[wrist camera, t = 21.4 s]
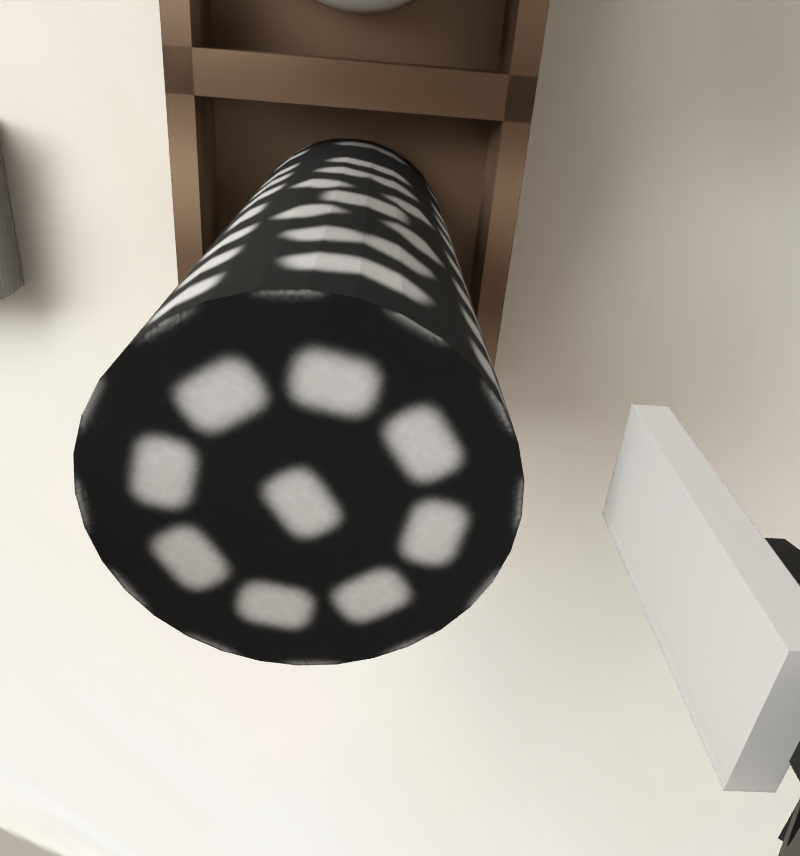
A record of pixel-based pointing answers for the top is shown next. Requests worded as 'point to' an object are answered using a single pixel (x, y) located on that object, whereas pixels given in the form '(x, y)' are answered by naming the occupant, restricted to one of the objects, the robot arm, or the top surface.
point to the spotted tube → (308, 427)
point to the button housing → (8, 243)
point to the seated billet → (366, 5)
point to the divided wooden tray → (356, 111)
